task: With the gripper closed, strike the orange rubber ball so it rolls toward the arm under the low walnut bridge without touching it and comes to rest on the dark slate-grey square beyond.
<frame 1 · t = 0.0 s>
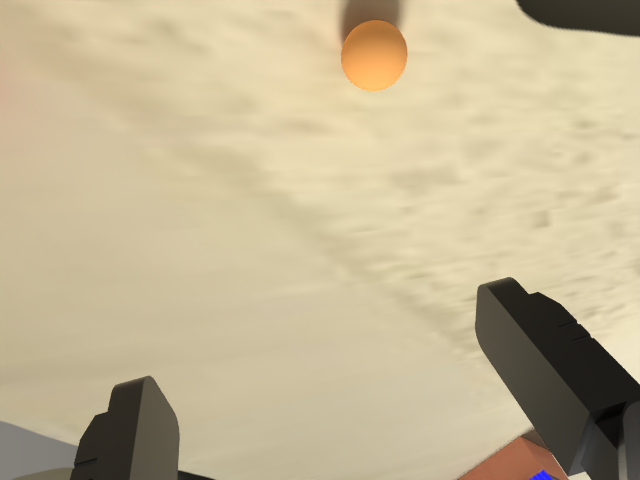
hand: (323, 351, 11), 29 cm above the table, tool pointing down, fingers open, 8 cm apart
ball: (373, 56, 33), on the table
house: (492, 469, 83), on the table
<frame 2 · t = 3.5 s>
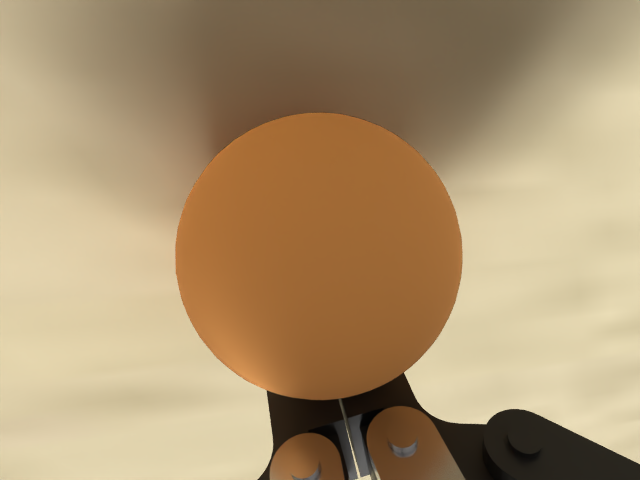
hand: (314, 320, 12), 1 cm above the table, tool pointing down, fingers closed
ball: (318, 254, 8), on the table, touching gripper
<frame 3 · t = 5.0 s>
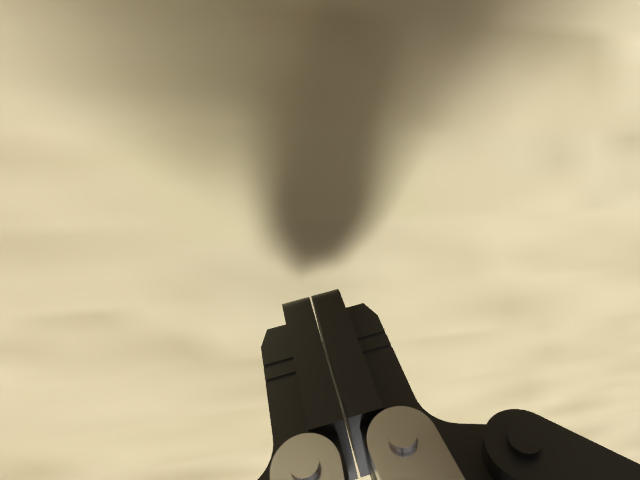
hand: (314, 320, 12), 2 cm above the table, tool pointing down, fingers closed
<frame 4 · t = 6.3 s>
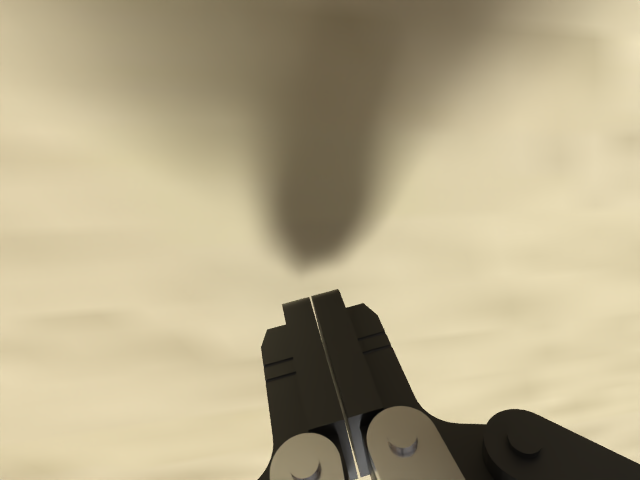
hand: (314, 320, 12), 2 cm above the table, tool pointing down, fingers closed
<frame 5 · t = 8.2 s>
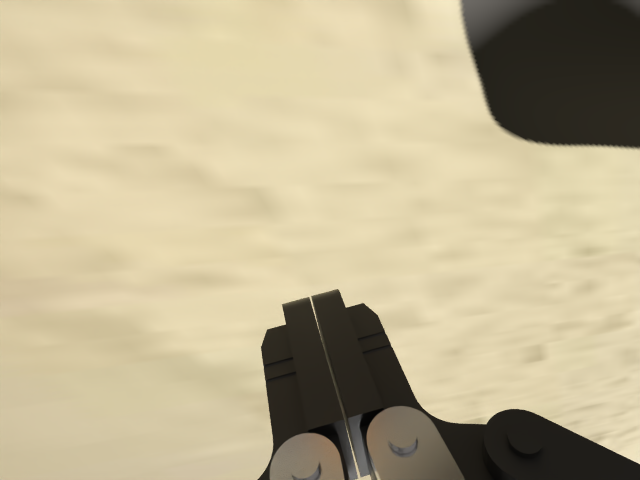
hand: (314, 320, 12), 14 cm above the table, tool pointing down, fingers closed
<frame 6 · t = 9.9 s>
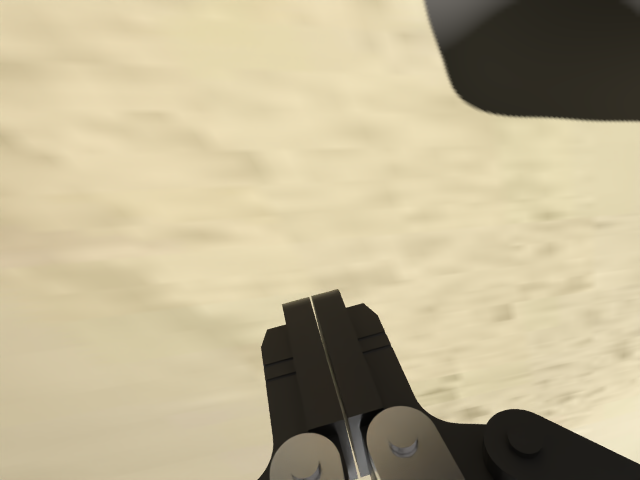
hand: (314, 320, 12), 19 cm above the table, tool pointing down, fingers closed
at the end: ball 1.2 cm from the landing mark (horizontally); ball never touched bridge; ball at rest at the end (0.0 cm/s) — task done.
